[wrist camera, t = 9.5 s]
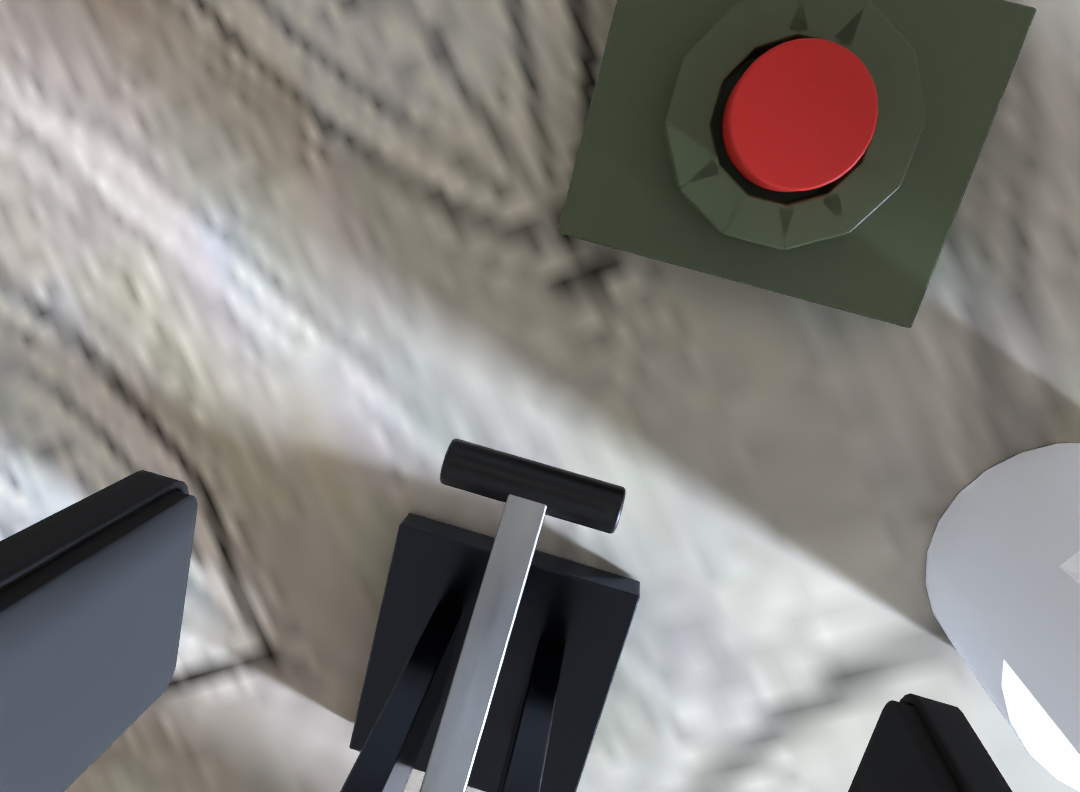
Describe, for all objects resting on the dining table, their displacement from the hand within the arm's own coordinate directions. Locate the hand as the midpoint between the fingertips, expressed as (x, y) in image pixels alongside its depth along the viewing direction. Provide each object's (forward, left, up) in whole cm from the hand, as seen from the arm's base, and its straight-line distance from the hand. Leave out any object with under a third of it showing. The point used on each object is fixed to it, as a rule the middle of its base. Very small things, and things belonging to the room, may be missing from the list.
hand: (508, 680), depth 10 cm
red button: (-3, -9, -14) cm, 17 cm away
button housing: (-3, -9, -18) cm, 20 cm away
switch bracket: (+1, +12, -18) cm, 21 cm away
